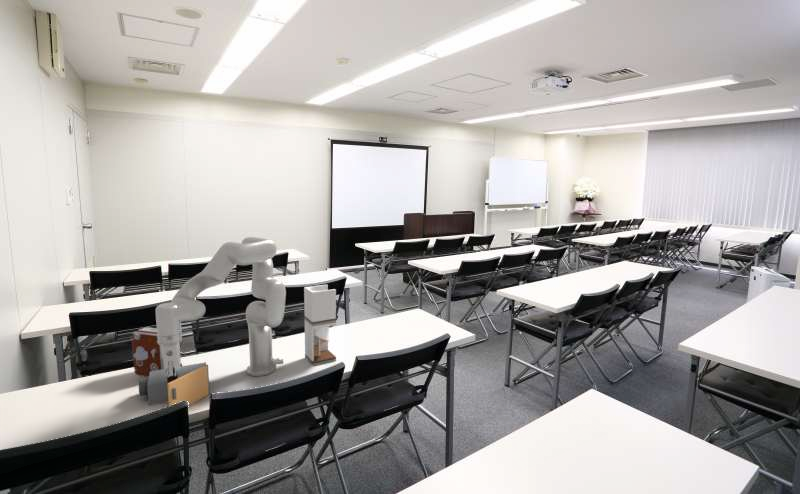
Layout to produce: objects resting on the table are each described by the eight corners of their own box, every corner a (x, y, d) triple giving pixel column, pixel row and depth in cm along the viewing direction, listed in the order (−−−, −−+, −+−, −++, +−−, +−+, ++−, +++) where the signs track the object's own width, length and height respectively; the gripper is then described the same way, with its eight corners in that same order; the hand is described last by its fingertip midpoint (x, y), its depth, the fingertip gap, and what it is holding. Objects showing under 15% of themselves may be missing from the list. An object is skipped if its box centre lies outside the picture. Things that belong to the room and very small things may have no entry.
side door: (208, 393, 157) (206, 364, 155) (211, 394, 156) (210, 365, 155) (169, 414, 142) (167, 383, 140) (173, 416, 141) (171, 384, 139)
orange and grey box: (206, 380, 168) (206, 362, 166) (208, 393, 157) (207, 374, 156) (142, 391, 157) (140, 372, 156) (139, 407, 147) (137, 386, 145)
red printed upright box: (170, 382, 165) (167, 336, 162) (131, 376, 169) (127, 331, 166) (186, 372, 174) (184, 328, 171) (149, 367, 178) (145, 324, 175)
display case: (312, 366, 183) (312, 292, 177) (305, 357, 192) (304, 287, 186) (335, 360, 189) (335, 289, 184) (327, 352, 198) (327, 284, 192)
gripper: (181, 343, 137) (184, 393, 140) (182, 329, 150) (185, 374, 153) (155, 347, 134) (159, 397, 136) (159, 332, 147) (162, 378, 149)
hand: (173, 385), depth 145 cm, fingers closed
